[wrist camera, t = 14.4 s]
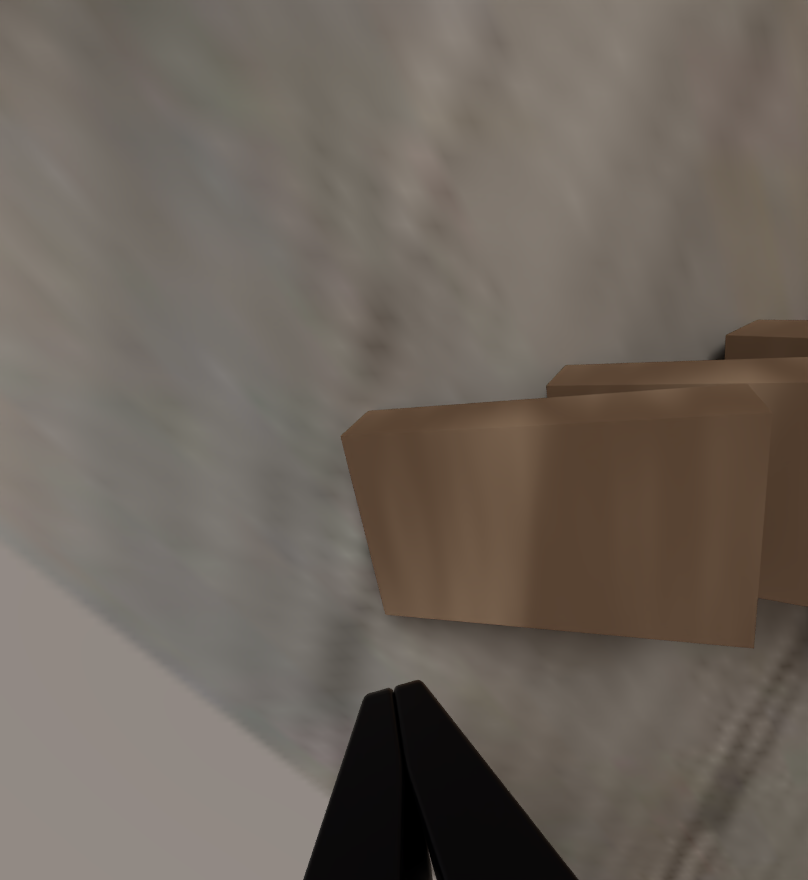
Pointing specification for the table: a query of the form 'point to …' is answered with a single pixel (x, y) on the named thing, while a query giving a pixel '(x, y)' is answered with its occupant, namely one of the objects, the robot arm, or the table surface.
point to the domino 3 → (768, 340)
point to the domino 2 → (790, 455)
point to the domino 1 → (571, 511)
